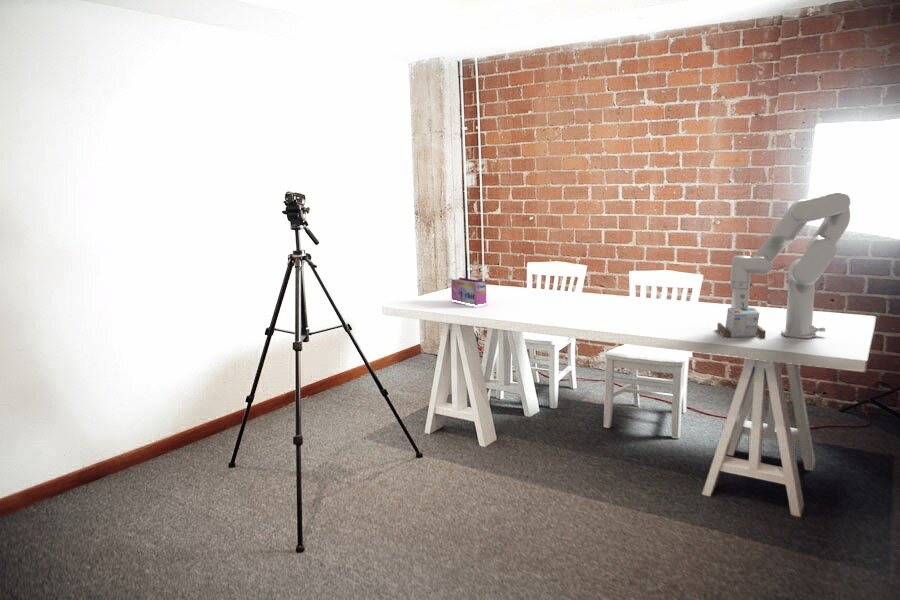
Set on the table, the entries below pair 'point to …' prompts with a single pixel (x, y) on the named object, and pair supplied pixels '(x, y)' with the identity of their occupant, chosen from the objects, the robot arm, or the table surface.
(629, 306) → the table surface
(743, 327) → the light bulb box
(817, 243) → the robot arm
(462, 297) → the gum box
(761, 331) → the walnut chute
